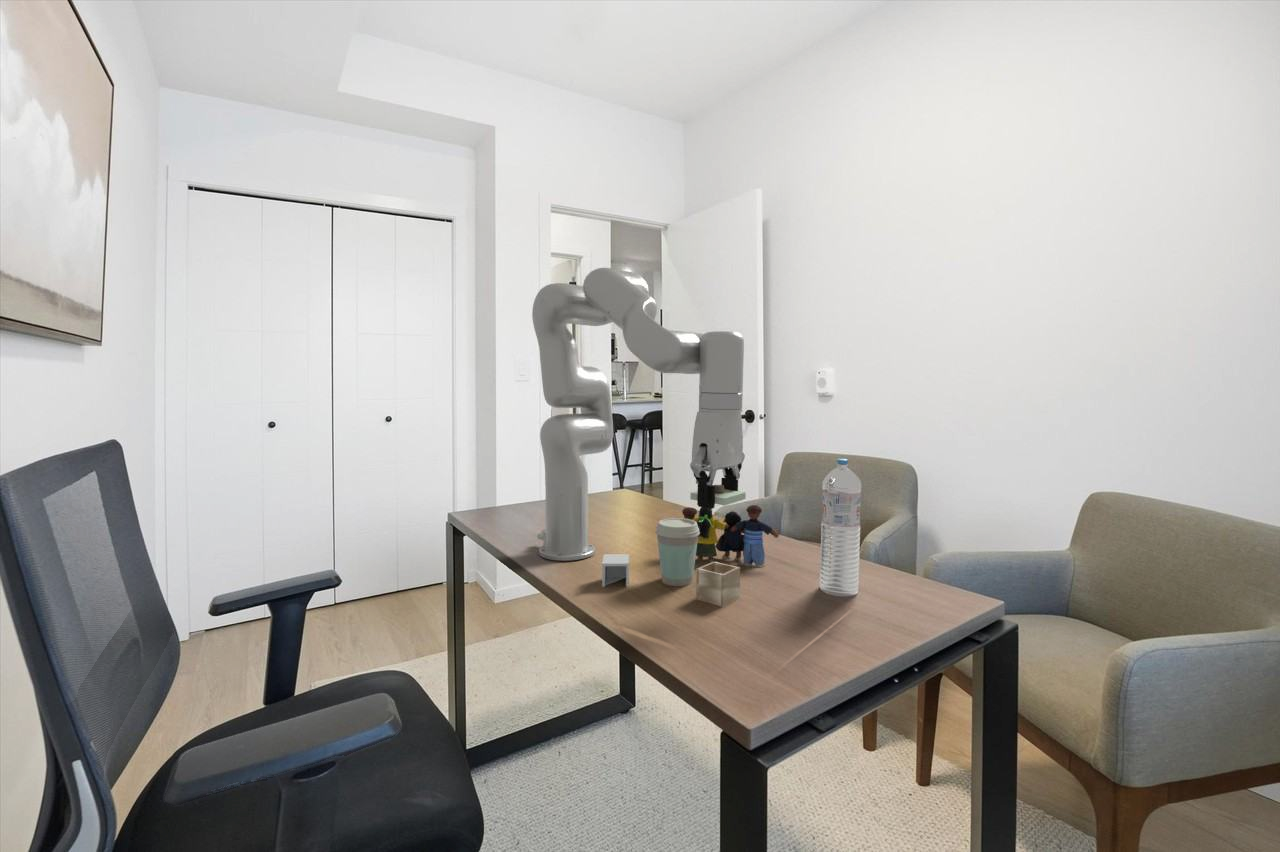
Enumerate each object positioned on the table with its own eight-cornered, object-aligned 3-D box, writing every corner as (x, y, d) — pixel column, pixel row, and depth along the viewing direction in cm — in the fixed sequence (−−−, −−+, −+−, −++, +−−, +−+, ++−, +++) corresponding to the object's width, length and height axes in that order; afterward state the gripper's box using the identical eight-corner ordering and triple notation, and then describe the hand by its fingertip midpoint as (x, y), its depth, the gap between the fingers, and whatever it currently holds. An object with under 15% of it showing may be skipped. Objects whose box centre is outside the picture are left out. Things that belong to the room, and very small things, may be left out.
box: (696, 601, 106) (696, 568, 106) (713, 593, 111) (713, 561, 110) (723, 609, 103) (723, 575, 102) (739, 600, 107) (740, 567, 107)
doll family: (775, 558, 133) (776, 499, 132) (778, 571, 124) (779, 507, 123) (672, 553, 136) (672, 495, 135) (667, 565, 127) (668, 503, 126)
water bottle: (830, 583, 116) (834, 456, 114) (864, 592, 111) (869, 459, 109) (812, 592, 111) (816, 459, 109) (847, 602, 106) (851, 463, 104)
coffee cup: (696, 592, 111) (697, 529, 110) (651, 589, 113) (651, 526, 112) (701, 577, 119) (702, 518, 118) (659, 574, 121) (659, 516, 120)
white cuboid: (603, 578, 118) (603, 554, 118) (629, 578, 119) (629, 554, 118) (602, 589, 113) (602, 563, 112) (628, 589, 113) (628, 563, 112)
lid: (690, 499, 105) (690, 485, 105) (712, 493, 110) (712, 480, 110) (724, 505, 101) (725, 491, 100) (745, 499, 106) (745, 485, 106)
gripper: (727, 401, 113) (725, 493, 115) (673, 403, 100) (671, 508, 101) (763, 402, 108) (760, 499, 110) (711, 406, 95) (708, 515, 97)
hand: (717, 503), depth 106 cm, fingers closed on lid, 7 cm apart
